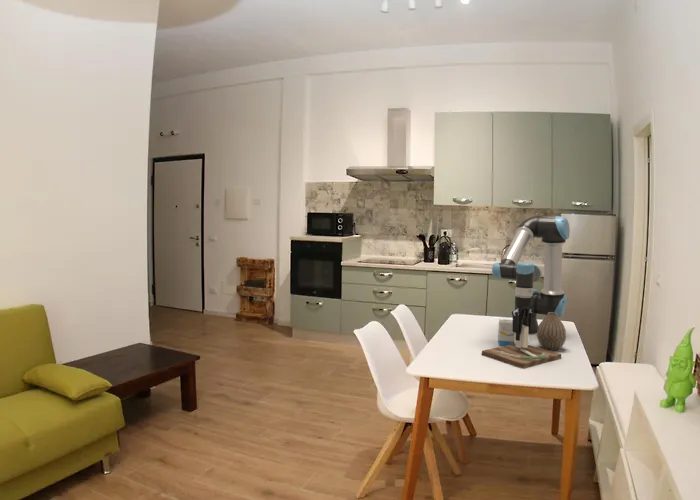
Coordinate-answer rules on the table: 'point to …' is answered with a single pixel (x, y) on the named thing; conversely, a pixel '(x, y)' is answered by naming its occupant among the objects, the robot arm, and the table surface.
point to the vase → (551, 332)
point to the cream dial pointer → (524, 340)
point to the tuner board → (521, 355)
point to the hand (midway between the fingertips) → (521, 346)
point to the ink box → (505, 332)
